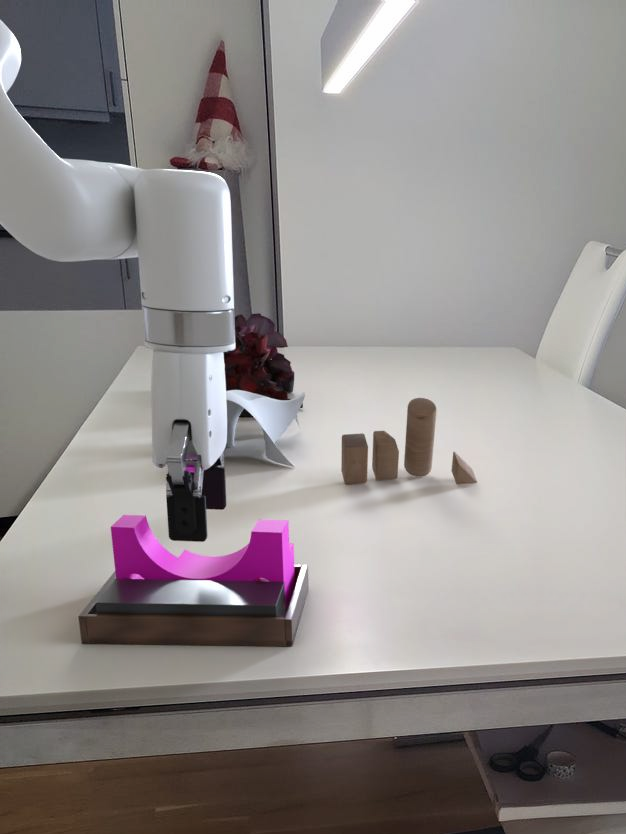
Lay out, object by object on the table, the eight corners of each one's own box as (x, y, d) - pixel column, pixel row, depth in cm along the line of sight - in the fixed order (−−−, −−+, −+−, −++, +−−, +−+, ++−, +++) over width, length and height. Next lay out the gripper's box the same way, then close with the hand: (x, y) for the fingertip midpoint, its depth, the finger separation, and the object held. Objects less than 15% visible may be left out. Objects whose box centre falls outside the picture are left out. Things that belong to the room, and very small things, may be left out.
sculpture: (188, 429, 166) (184, 367, 163) (307, 430, 169) (305, 369, 165) (165, 466, 144) (159, 395, 140) (302, 467, 146) (300, 397, 142)
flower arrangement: (306, 418, 178) (303, 328, 172) (187, 418, 174) (180, 326, 168) (295, 387, 206) (292, 308, 200) (192, 387, 202) (187, 306, 196)
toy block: (295, 587, 100) (292, 512, 97) (284, 611, 94) (281, 532, 91) (138, 582, 99) (131, 507, 96) (119, 606, 94) (110, 526, 91)
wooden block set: (346, 503, 138) (347, 439, 131) (336, 463, 144) (337, 401, 137) (476, 493, 143) (483, 431, 135) (461, 455, 148) (468, 394, 141)
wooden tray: (81, 643, 87) (76, 605, 86) (125, 585, 100) (121, 551, 99) (292, 646, 88) (291, 608, 87) (308, 588, 101) (307, 555, 100)
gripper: (167, 315, 95) (177, 496, 102) (117, 340, 79) (133, 552, 86) (249, 320, 96) (254, 499, 102) (216, 346, 80) (224, 556, 87)
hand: (199, 523), depth 94 cm, fingers open, 9 cm apart
